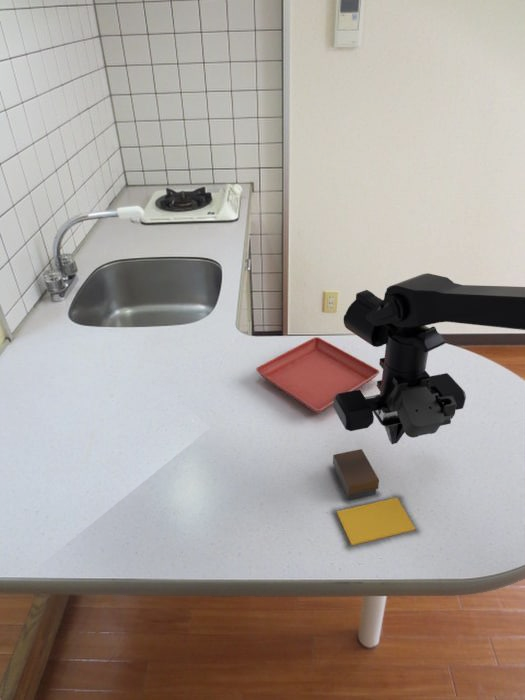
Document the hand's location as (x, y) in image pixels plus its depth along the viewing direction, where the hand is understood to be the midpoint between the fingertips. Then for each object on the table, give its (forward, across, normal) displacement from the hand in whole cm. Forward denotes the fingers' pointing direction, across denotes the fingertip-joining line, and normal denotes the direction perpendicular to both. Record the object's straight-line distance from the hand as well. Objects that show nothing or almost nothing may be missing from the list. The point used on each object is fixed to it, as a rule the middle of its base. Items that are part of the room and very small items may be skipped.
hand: (392, 441), depth 82 cm
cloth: (+8, -6, -8) cm, 12 cm away
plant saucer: (+8, -3, +27) cm, 28 cm away
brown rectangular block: (+8, -6, 0) cm, 10 cm away
